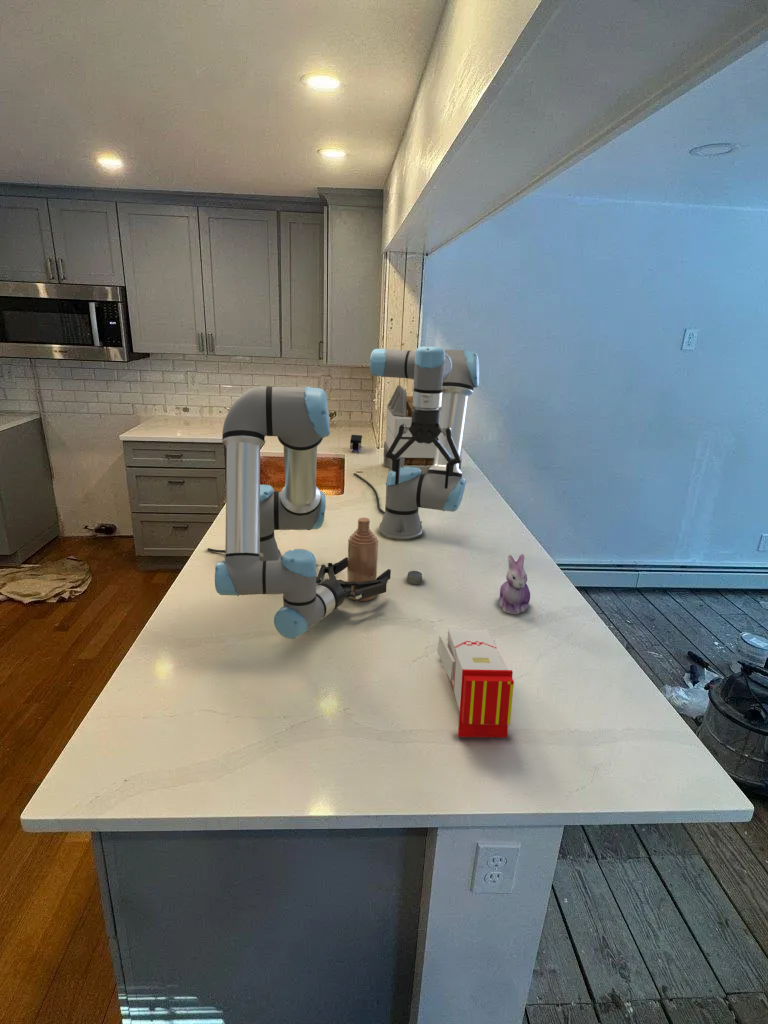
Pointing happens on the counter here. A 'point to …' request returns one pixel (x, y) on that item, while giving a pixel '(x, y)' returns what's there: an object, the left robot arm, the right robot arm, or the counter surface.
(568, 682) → the counter surface
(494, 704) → the toy
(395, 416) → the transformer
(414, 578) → the cap
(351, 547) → the tan bottle
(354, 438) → the figurine character
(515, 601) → the figurine
